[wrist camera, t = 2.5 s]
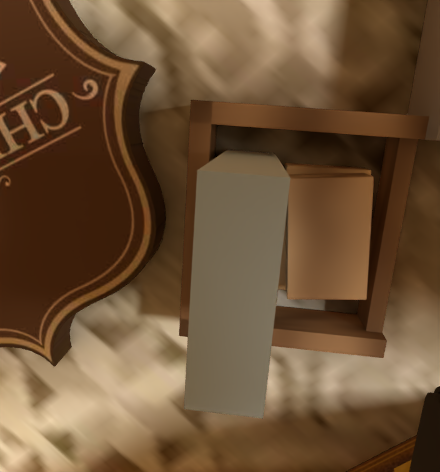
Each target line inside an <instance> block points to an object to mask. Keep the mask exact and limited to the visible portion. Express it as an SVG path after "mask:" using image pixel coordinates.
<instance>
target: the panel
mask: <svg viewBox="0 0 440 472" xmlns="http://www.w3.org/2000/svg"><path fill="white" fill-rule="evenodd" d="M289 186H290V176H289V175H288V173H287V172H286V170H285V169H284V167H283V165H282V164H281V162H280V161H279V159H278V158H277V156H276V155H275V153H268V152H254V151H241V150H226V151H225V152H223V153H222V154H221V155H219V156H218V157H216V158H215V159H213V160H212V161H210V162H209V163H207V164H206V165H204V166H203V167H201V168H200V169H198V170H197V185H196V203H195V221H194V238H193V256H192V274H191V292H190V309H189V327H188V345H187V363H186V380H185V398H184V409H188V410H196V411H204V412H213V413H221V414H229V415H238V416H246V417H254V418H262V419H263V416H264V407H265V398H266V389H267V380H268V372H269V363H270V354H271V345H272V336H273V327H274V319H275V310H276V301H277V292H278V283H279V274H280V266H281V257H282V248H283V239H284V230H285V221H286V213H287V204H288V195H289Z"/></svg>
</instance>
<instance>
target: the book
mask: <svg viewBox="0 0 440 472" xmlns="http://www.w3.org/2000/svg"><path fill="white" fill-rule="evenodd" d="M416 437H417V435H416V436H414V437H412V438H411V439H409V440H407V441H405V442H403V443H401V444H399V445H397V446H395V447H393V448H391V449H389V450H387V451H385V452H383V453H381V454H379V455H377V456H375V457H373V458H371V459H370V460H368V461H366V462H364V463H362V464H360V465H358V466H356V467H354V468H352V469H350V470H348V471H346V472H409V469H410V464H411V460H412V455H413V451H414V446H415V442H416Z"/></svg>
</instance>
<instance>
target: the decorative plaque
mask: <svg viewBox="0 0 440 472" xmlns="http://www.w3.org/2000/svg"><path fill="white" fill-rule="evenodd" d="M155 70H156V69H155V68H154V67H152V66H150V65H149V64H147V63H145V62H141V61H134V60H128V59H124V58H121V57H119V56H116V55H115V54H113V53H112V52H110V51H109V50H108V49H107V48H105V47H104V46H103V45H102V44H100V43H99V42H98V41H97V39H95V38H94V37H93V36H92V34H91V33H90V32H89V31H88V29H87V28H86V27H85V26H84V24H83V23H82V21H81V20H80V18H79V17H78V15H77V14H76V12H75V10H74V8H73V7H72V5H71V3H70V1H69V0H0V347H15V348H22V349H25V350H30V351H32V352H34V353H36V354H39V355H41V356H42V357H44V358H45V359H46V360H48V361H49V362H50V363H51V364H52V365H53V366H56V365H57V363H58V362H59V361H60V360H61V359H62V358H63V356H64V355H65V354H66V353H67V352H68V351H69V349H70V348H71V347H72V346H71V342H70V334H69V332H70V327H71V323H72V321H73V318H74V316H75V314H76V313H77V312H79V311H80V310H82V309H83V308H85V307H87V306H89V305H91V304H93V303H95V302H97V301H99V300H101V299H103V298H105V297H107V296H109V295H111V294H113V293H115V292H117V291H118V290H120V289H121V288H123V287H124V286H125V285H127V284H128V283H129V282H130V281H131V280H132V279H134V278H135V277H136V276H137V275H138V273H139V272H140V271H141V270H142V269H143V268H144V266H145V265H146V264H147V263H148V262H149V260H150V259H151V258H152V257H153V255H154V254H155V252H156V251H157V250H158V247H159V245H160V242H161V240H162V237H163V233H164V229H165V221H166V216H165V204H164V200H163V196H162V192H161V188H160V185H159V183H158V180H157V178H156V176H155V173H154V171H153V169H152V167H151V165H150V162H149V160H148V158H147V155H146V153H145V150H144V148H143V145H142V144H143V143H142V139H141V135H140V129H139V109H140V102H141V99H142V95H143V92H144V91H145V87H146V86H147V84H148V82H149V79H150V78H151V76H152V75H153V74H154V72H155Z"/></svg>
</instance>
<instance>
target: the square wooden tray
mask: <svg viewBox="0 0 440 472" xmlns="http://www.w3.org/2000/svg"><path fill="white" fill-rule="evenodd" d="M428 121H429V116H415V115H401V114H387V113H372V112H358V111H343V110H329V109H314V108H300V107H285V106H271V105H256V104H242V103H227V102H213V101H198V100H191V111H190V131H189V150H188V170H187V190H186V210H185V230H184V250H183V269H182V289H181V309H180V329H179V336H185V337H188V327H189V309H190V292H191V274H192V256H193V238H194V221H195V203H196V185H197V170H198V169H200V168H201V167H203V166H204V165H206V164H207V163H209V162H210V161H212V160H213V159H215V150H216V135H217V125H229V126H243V127H257V128H270V129H284V130H298V131H312V132H325V133H339V134H353V135H367V136H380V137H387V139H386V145H385V151H384V157H383V163H382V169H381V174H380V180H379V186H378V192H377V198H376V204H375V210H374V216H373V222H372V228H371V234H370V249H369V265H368V282H367V299H366V300H359V306H358V312H357V314H349V313H340V312H330V311H320V310H310V309H300V308H291V307H281V306H276V310H275V319H274V327H273V336H272V345H271V346H278V347H287V348H296V349H305V350H315V351H324V352H333V353H342V354H351V355H361V356H370V357H379V358H383V357H384V352H385V347H386V342H387V340H386V338H385V337H384V335H383V334H382V330H383V325H384V320H385V314H386V309H387V304H388V298H389V293H390V287H391V282H392V277H393V271H394V266H395V261H396V255H397V250H398V244H399V239H400V234H401V228H402V223H403V218H404V212H405V207H406V202H407V196H408V191H409V185H410V180H411V175H412V169H413V164H414V159H415V153H416V148H417V143H418V139H424V140H425V137H426V131H427V126H428Z"/></svg>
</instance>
